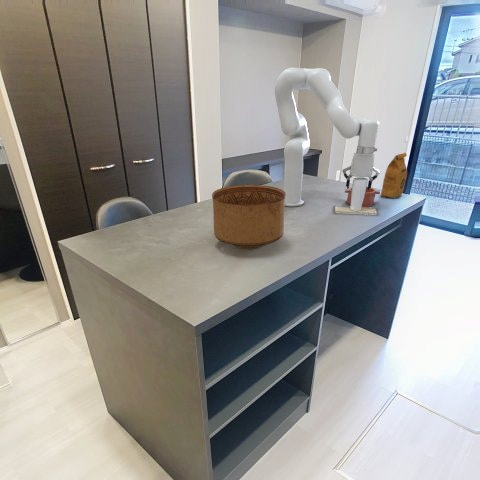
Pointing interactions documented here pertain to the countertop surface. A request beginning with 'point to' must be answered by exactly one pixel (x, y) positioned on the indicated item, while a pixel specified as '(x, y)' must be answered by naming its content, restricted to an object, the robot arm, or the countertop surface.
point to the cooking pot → (368, 196)
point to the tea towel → (348, 211)
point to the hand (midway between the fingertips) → (357, 188)
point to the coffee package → (395, 177)
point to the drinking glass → (358, 193)
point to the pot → (248, 215)
